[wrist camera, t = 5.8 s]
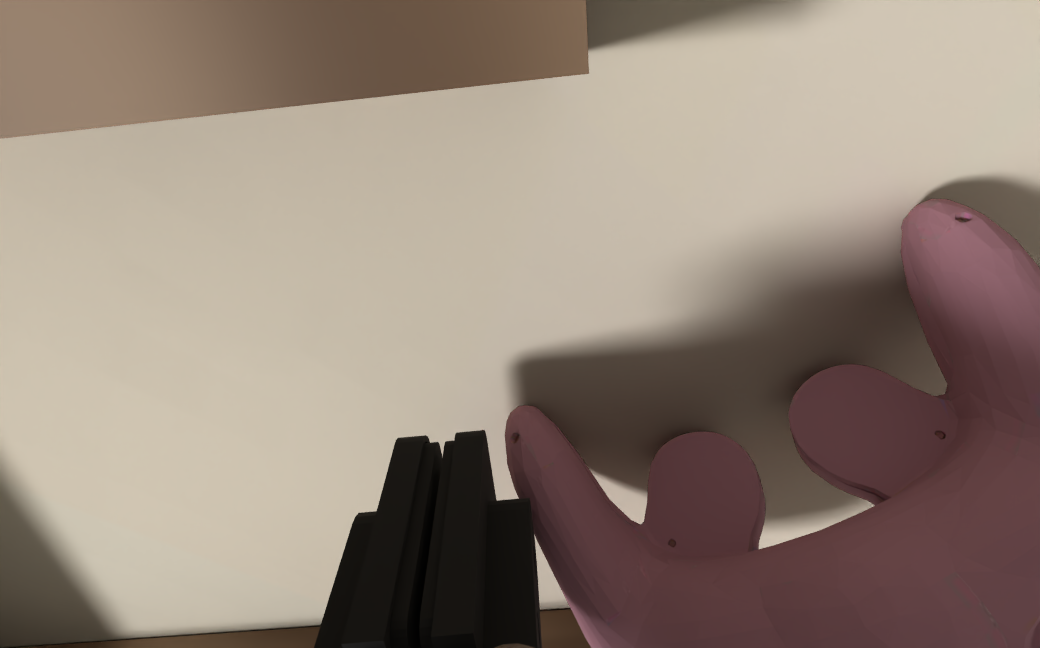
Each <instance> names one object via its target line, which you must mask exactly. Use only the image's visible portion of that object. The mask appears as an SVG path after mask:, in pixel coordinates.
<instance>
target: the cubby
mask: <svg viewBox="0 0 1040 648" xmlns="http://www.w3.org/2000/svg"><path fill="white" fill-rule="evenodd" d="M580 74H589V66H588V40H587V14H586V0H0V138H9V137H19V136H28V135H37V134H46V133H55V132H64V131H73V130H82V129H91V128H100V127H109V126H118V125H127V124H136V123H145V122H154V121H163V120H173V119H182V118H191V117H200V116H209V115H218V114H227V113H236V112H245V111H254V110H263V109H272V108H281V107H290V106H299V105H308V104H317V103H326V102H336V101H345V100H354V99H363V98H372V97H381V96H390V95H399V94H408V93H417V92H426V91H435V90H444V89H453V88H462V87H471V86H480V85H489V84H499V83H508V82H517V81H526V80H535V79H544V78H553V77H562V76H571V75H580ZM540 623H541V639H542V648H591V646H590V645H589V643H588V641H587V640H586V638H585V636H584V634H583V632H582V630H581V628H580V626H579V624H578V622H577V620H576V618H575V616H574V614H573V612H572V610H571V609H567V610H552V611H540ZM319 629H320V627H307V628H292V629H278V630H263V631H249V632H234V633H220V634H205V635H191V636H177V637H162V638H148V639H133V640H119V641H104V642H90V643H75V644H61V645H46V646H32V647H18V648H314V646H315V642H316V639H317V636H318V633H319Z"/></svg>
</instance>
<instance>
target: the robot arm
mask: <svg viewBox="0 0 1040 648" xmlns="http://www.w3.org/2000/svg"><path fill="white" fill-rule="evenodd" d="M314 648H542V639H541V623H540V607H539V591H538V576H537V561H536V549H535V538H534V528H533V519H532V511H531V503H530V498H522V499H511V500H500V501H496V495H495V489H494V482H493V476H492V469H491V463H490V456H489V450H488V443H487V437H486V433H485V430H481V431H470V432H460V433H456V434H455V441H446V442H445V445H444V452H443V459H442V454H441V449H440V445H439V443H438V442H434V443H430V442H429V439H428V437H427V436H415V437H404V438H398V439H397V440H396V442H395V446H394V449H393V453H392V457H391V460H390V464H389V468H388V472H387V475H386V479H385V483H384V487H383V490H382V494H381V498H380V501H379V505H378V509H377V511H376V512H365V513H358V515H357V516H356V517H355V519H354V521H353V524H352V527H351V530H350V533H349V536H348V540H347V543H346V546H345V549H344V552H343V556H342V559H341V562H340V565H339V569H338V572H337V575H336V578H335V581H334V585H333V588H332V591H331V594H330V597H329V601H328V604H327V607H326V610H325V613H324V617H323V620H322V623H321V626H320V629H319V633H318V636H317V639H316V642H315V646H314Z"/></svg>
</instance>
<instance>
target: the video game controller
mask: <svg viewBox="0 0 1040 648" xmlns="http://www.w3.org/2000/svg"><path fill="white" fill-rule="evenodd" d="M901 229H902V240H901V256H902V262H903V267H904V272H905V277H906V282H907V287H908V291H909V293H910V296H911V299H912V301H913V304H914V307H915V309H916V312H917V315H918V318H919V320H920V323H921V326H922V328H923V331H924V334H925V336H926V339H927V342H928V344H929V346H930V348H931V350H932V352H933V355H934V357H935V359H936V361H937V363H938V365H939V367H940V369H941V371H942V373H943V375H944V378H945V380H946V382H947V384H948V385H947V389H946V393H945V394H943V395H940V396H932V395H929V394H927V393H925V392H922V391H920V390H918V389H915V388H913V387H911V386H909V385H908V384H906V383H904V382H902V381H900V380H898V379H896V378H894V377H892V376H890V375H888V374H887V373H885V372H883V371H880V370H877V369H874V368H871V367H868V366H865V365H856V364H847V365H839V366H834V367H829V368H827V369H825V370H822V371H820V372H818V373H817V374H815V375H813V376H812V377H810V378H809V379H808V380H807V381H806V382H805V383H804V384H803V385H801V387H800V388H799V389H798V391H797V392H796V393H795V394H794V397H793V399H792V401H791V403H790V408H789V423H790V430H791V432H792V435H793V439H794V442H795V445H796V448H797V451H798V452H799V454H800V456H801V458H802V459H803V461H804V462H805V463H806V464H807V465H808V466H809V467H810V469H811V470H812V471H813V472H815V473H816V474H817V475H819V476H820V477H821V478H823V479H824V480H826V481H827V482H828V483H830V484H831V485H833V486H835V487H837V488H839V489H841V490H843V491H845V492H847V493H849V494H852V495H855V496H857V497H860V498H863V499H865V500H868V501H869V502H871V503H872V504H874V505H875V506H874V507H872V508H870V509H868V510H866V511H864V512H862V513H859V514H857V515H855V516H852V517H850V518H848V519H846V520H843V521H841V522H839V523H836V524H834V525H832V526H829V527H827V528H825V529H822V530H820V531H817V532H814V533H811V534H808V535H805V536H802V537H798V538H795V539H792V540H789V541H786V542H783V543H780V544H777V545H774V546H770V547H766V548H763V549H759V540H760V536H761V532H762V529H763V525H764V520H765V510H766V507H765V497H764V492H763V488H762V485H761V480H760V478H759V475H758V473H757V470H756V467H755V465H754V463H753V461H752V459H751V458H750V456H749V455H748V453H747V452H746V451H745V450H744V449H743V448H742V446H740V445H739V444H738V443H736V442H735V441H734V440H732V439H730V438H728V437H726V436H724V435H722V434H718V433H714V432H700V431H699V432H691V433H687V434H683V435H680V436H677V437H675V438H673V439H672V440H670V441H668V442H667V443H666V444H664V445H663V446H662V447H661V448H660V449H659V451H658V452H657V453H656V455H655V457H654V459H653V461H652V463H651V467H650V473H649V479H648V497H647V507H646V513H645V519H644V522H643V523H642V524H641V525H640V524H638V523H636V522H634V521H632V520H630V519H629V518H628V517H627V516H626V515H625V514H624V513H623V512H622V511H621V510H620V509H619V508H618V507H617V506H616V505H615V504H614V503H613V502H612V501H610V499H609V498H608V497H607V495H606V494H605V492H604V491H603V489H602V488H601V486H600V485H599V483H598V482H597V480H596V479H595V477H594V476H593V474H592V473H591V471H590V470H589V468H588V467H587V465H586V464H585V462H584V461H583V459H582V458H581V457H580V455H579V454H578V452H577V451H576V449H575V448H574V447H573V446H572V444H571V443H570V442H569V441H568V439H567V438H566V437H565V435H564V434H563V433H562V432H561V430H560V429H559V428H558V427H557V425H556V424H554V423H553V422H552V421H551V420H550V419H548V418H547V417H546V416H545V415H544V414H543V413H542V412H541V411H540V410H539V409H538V408H536V407H534V406H527V405H523V406H519V407H517V408H516V409H515V410H513V411H512V412H511V413H510V415H509V417H508V420H507V423H506V430H505V442H506V453H507V464H508V468H509V471H510V475H511V478H512V481H513V485H514V488H515V490H516V493H517V495H518V497H519V499H522V498H530V503H531V511H532V519H533V528H534V534H535V536H536V539H537V541H538V543H539V545H540V547H541V549H542V551H543V553H544V555H545V557H546V559H547V561H548V563H549V565H550V567H551V570H552V572H553V574H554V576H555V578H556V580H557V582H558V584H559V586H560V588H561V590H562V592H563V594H564V596H565V598H566V600H567V602H568V604H569V606H570V608H571V610H572V612H573V614H574V616H575V618H576V620H577V622H578V624H579V626H580V628H581V630H582V632H583V634H584V636H585V638H586V640H587V641H588V643H589V645H590V646H591V648H1040V268H1039V266H1038V265H1037V264H1036V263H1035V262H1034V260H1033V259H1032V258H1031V257H1030V256H1029V255H1028V253H1027V252H1026V251H1025V250H1024V249H1023V247H1022V246H1021V245H1020V244H1019V243H1018V241H1017V240H1016V239H1014V238H1013V237H1012V236H1011V235H1010V234H1008V233H1007V232H1006V231H1005V230H1003V229H1002V228H1001V227H999V226H998V225H997V224H995V223H994V222H993V221H992V220H990V219H989V218H988V217H986V216H985V215H984V214H982V213H980V212H978V211H975V210H973V209H971V208H969V207H967V206H965V205H962V204H959V203H956V202H954V201H951V200H948V199H930V200H927V201H925V202H922V203H920V204H918V205H916V206H915V207H914V208H913V209H912V210H911V211H910V212H909V214H908V215H907V216H906V217H905V218H904V220H903V222H902V226H901ZM758 549H759V550H758Z"/></svg>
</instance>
